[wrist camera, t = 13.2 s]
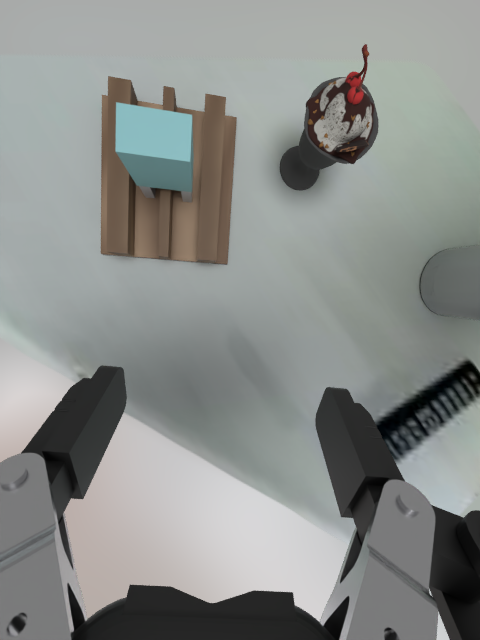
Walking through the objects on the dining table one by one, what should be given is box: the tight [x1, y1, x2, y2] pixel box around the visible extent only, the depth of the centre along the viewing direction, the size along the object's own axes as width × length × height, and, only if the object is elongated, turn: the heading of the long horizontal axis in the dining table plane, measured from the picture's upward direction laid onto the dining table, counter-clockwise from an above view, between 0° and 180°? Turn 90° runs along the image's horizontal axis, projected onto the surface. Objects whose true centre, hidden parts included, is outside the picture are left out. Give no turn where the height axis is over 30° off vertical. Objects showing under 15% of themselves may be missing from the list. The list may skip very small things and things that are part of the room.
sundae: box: [280, 44, 378, 190], centre depth 26 cm, size 7×7×15 cm
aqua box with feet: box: [115, 102, 194, 203], centre depth 25 cm, size 5×3×11 cm, turn 86°
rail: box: [101, 76, 237, 264], centre depth 29 cm, size 14×16×4 cm
